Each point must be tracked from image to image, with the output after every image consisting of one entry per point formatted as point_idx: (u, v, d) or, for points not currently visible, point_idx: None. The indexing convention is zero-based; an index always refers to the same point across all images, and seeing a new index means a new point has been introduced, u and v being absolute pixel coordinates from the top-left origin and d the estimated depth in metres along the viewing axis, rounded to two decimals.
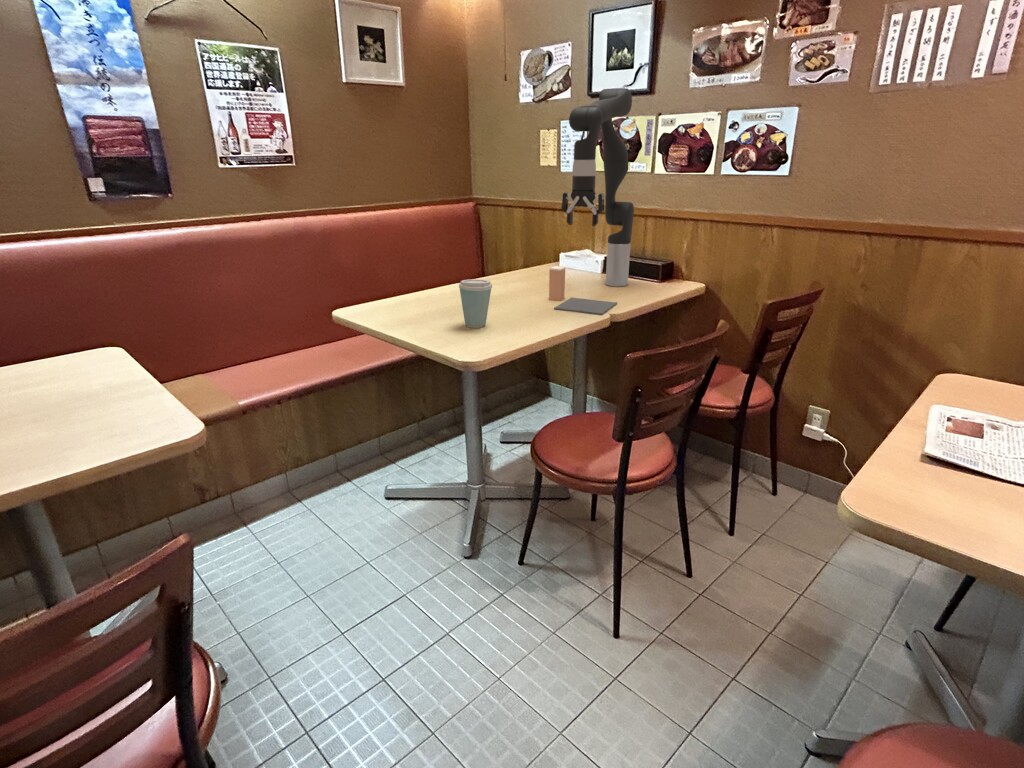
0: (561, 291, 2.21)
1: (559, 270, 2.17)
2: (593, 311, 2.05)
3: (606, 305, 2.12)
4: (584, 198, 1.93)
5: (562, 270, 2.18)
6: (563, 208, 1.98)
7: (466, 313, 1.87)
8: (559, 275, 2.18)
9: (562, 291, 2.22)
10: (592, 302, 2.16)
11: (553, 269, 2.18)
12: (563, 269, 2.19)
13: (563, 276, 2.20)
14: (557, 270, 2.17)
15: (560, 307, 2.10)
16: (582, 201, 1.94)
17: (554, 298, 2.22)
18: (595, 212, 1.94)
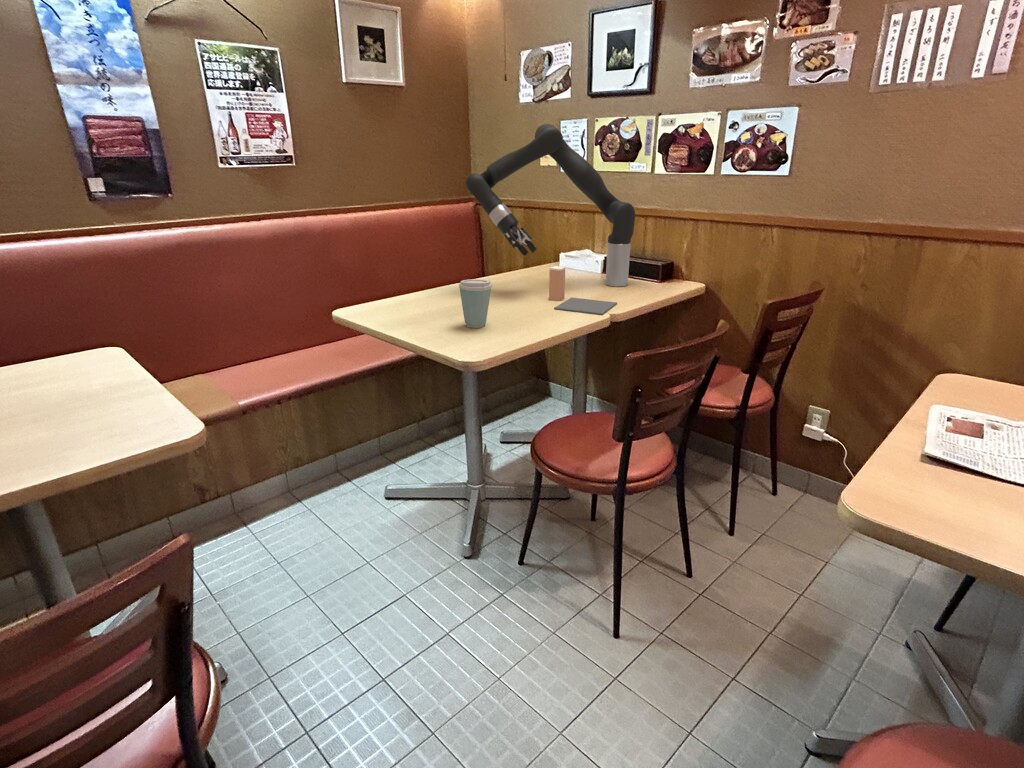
0: (561, 291, 2.21)
1: (559, 270, 2.17)
2: (593, 311, 2.05)
3: (606, 305, 2.12)
4: None
5: (562, 270, 2.18)
6: None
7: (466, 313, 1.87)
8: (559, 275, 2.18)
9: (562, 291, 2.22)
10: (592, 302, 2.16)
11: (553, 269, 2.18)
12: (563, 269, 2.19)
13: (563, 276, 2.20)
14: (557, 270, 2.17)
15: (560, 307, 2.10)
16: None
17: (554, 298, 2.22)
18: None
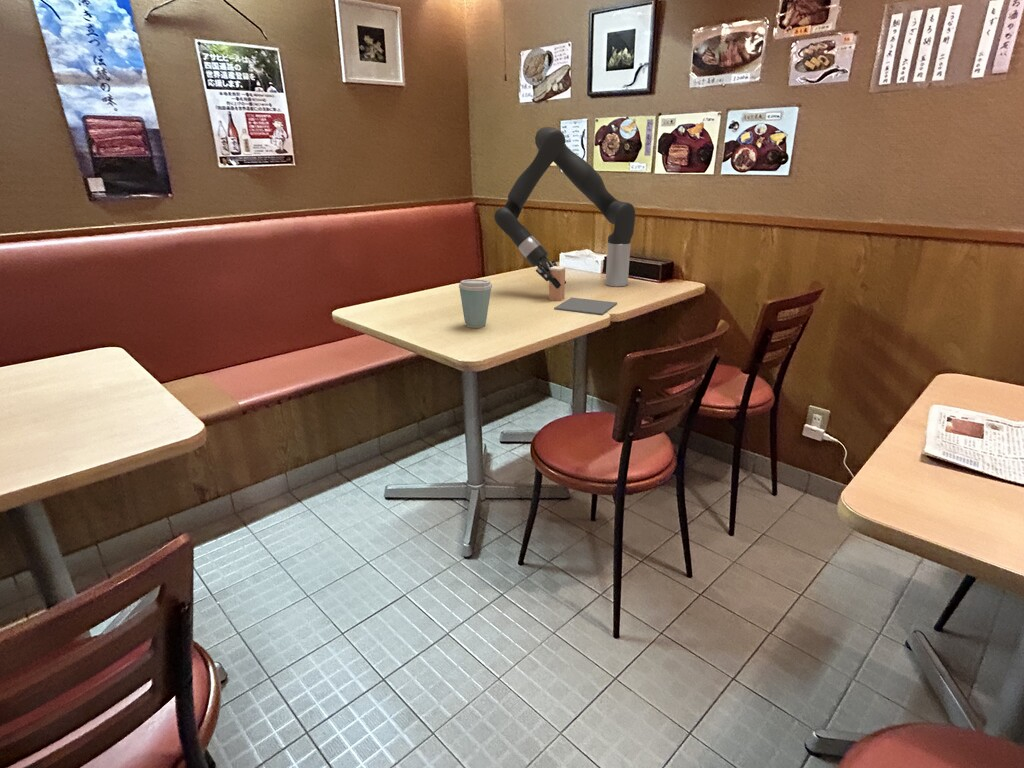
0: (561, 291, 2.21)
1: (559, 270, 2.17)
2: (593, 311, 2.05)
3: (606, 305, 2.12)
4: None
5: (562, 270, 2.18)
6: None
7: (466, 313, 1.87)
8: (559, 275, 2.18)
9: (562, 291, 2.22)
10: (592, 302, 2.16)
11: (553, 269, 2.18)
12: (563, 269, 2.19)
13: (563, 276, 2.20)
14: (557, 270, 2.17)
15: (560, 307, 2.10)
16: None
17: (554, 298, 2.22)
18: None
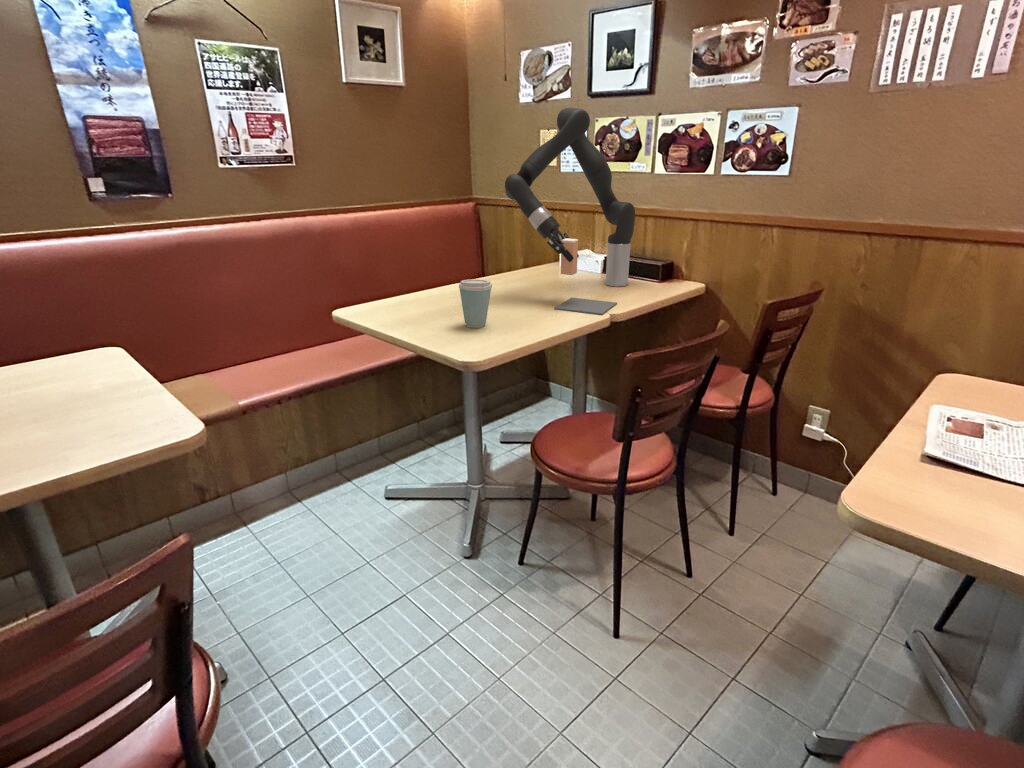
0: (574, 265, 2.09)
1: (572, 242, 2.05)
2: (593, 311, 2.05)
3: (606, 305, 2.12)
4: None
5: (575, 242, 2.06)
6: None
7: (466, 313, 1.87)
8: (572, 247, 2.06)
9: (574, 265, 2.10)
10: (592, 302, 2.16)
11: (565, 241, 2.06)
12: (576, 241, 2.07)
13: (576, 249, 2.08)
14: (569, 242, 2.05)
15: (560, 307, 2.10)
16: None
17: (566, 272, 2.10)
18: None
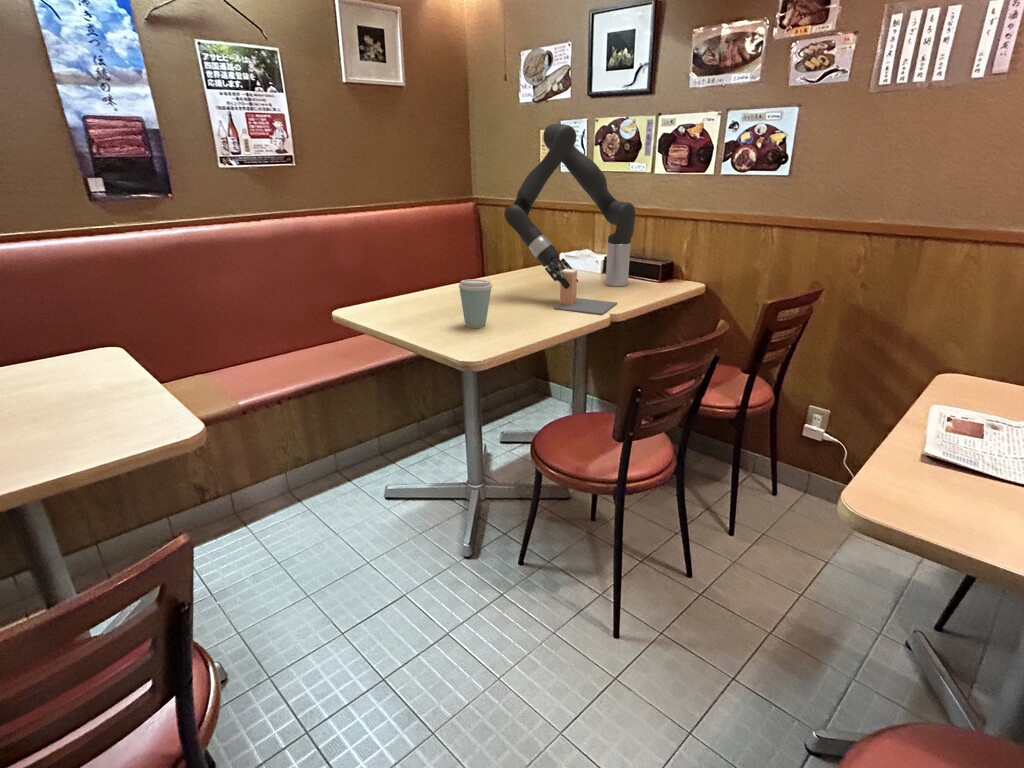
0: (573, 295, 2.13)
1: (571, 273, 2.09)
2: (593, 311, 2.05)
3: (606, 305, 2.12)
4: None
5: (574, 273, 2.10)
6: None
7: (466, 313, 1.87)
8: (571, 278, 2.10)
9: (574, 295, 2.14)
10: (592, 302, 2.16)
11: (564, 272, 2.10)
12: (575, 272, 2.11)
13: (575, 279, 2.12)
14: (569, 273, 2.09)
15: (560, 307, 2.10)
16: None
17: (565, 302, 2.14)
18: None
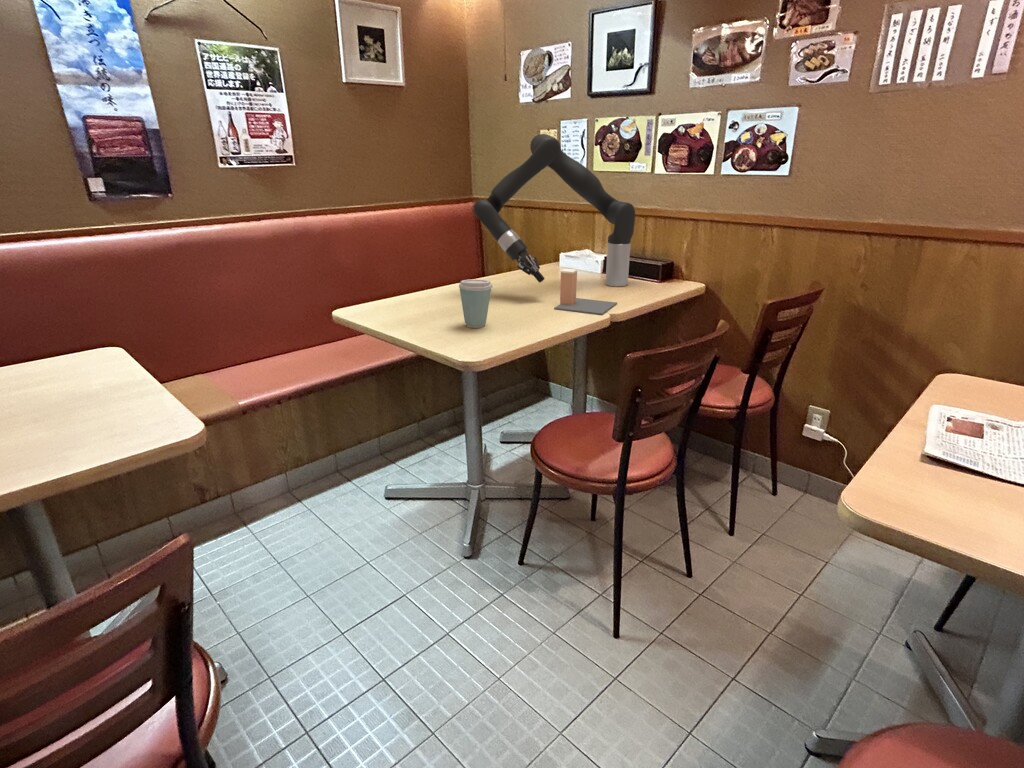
0: (573, 295, 2.13)
1: (571, 273, 2.09)
2: (593, 311, 2.05)
3: (606, 305, 2.12)
4: None
5: (574, 273, 2.10)
6: None
7: (466, 313, 1.87)
8: (571, 278, 2.10)
9: (574, 295, 2.14)
10: (592, 302, 2.16)
11: (564, 272, 2.10)
12: (575, 272, 2.11)
13: (575, 279, 2.12)
14: (569, 273, 2.09)
15: (560, 307, 2.10)
16: None
17: (565, 302, 2.14)
18: None
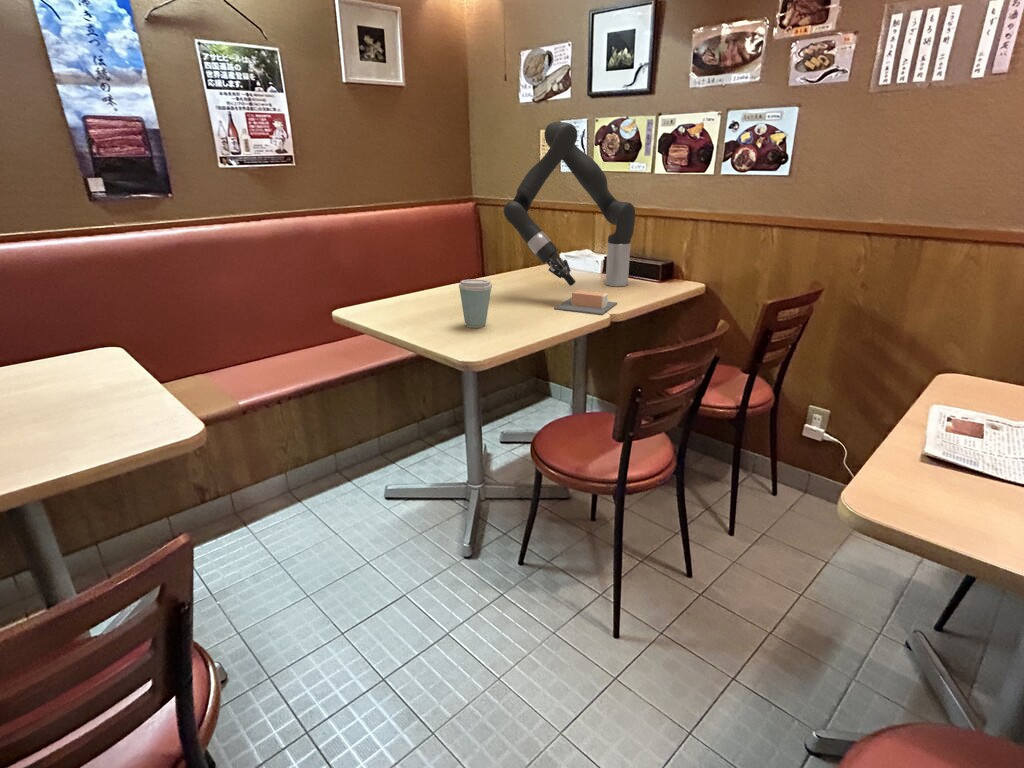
0: None
1: (601, 307, 2.08)
2: (593, 311, 2.05)
3: None
4: None
5: None
6: None
7: (466, 313, 1.87)
8: (596, 306, 2.09)
9: None
10: None
11: (602, 300, 2.07)
12: None
13: None
14: (601, 305, 2.08)
15: (560, 307, 2.10)
16: None
17: (573, 299, 2.12)
18: None
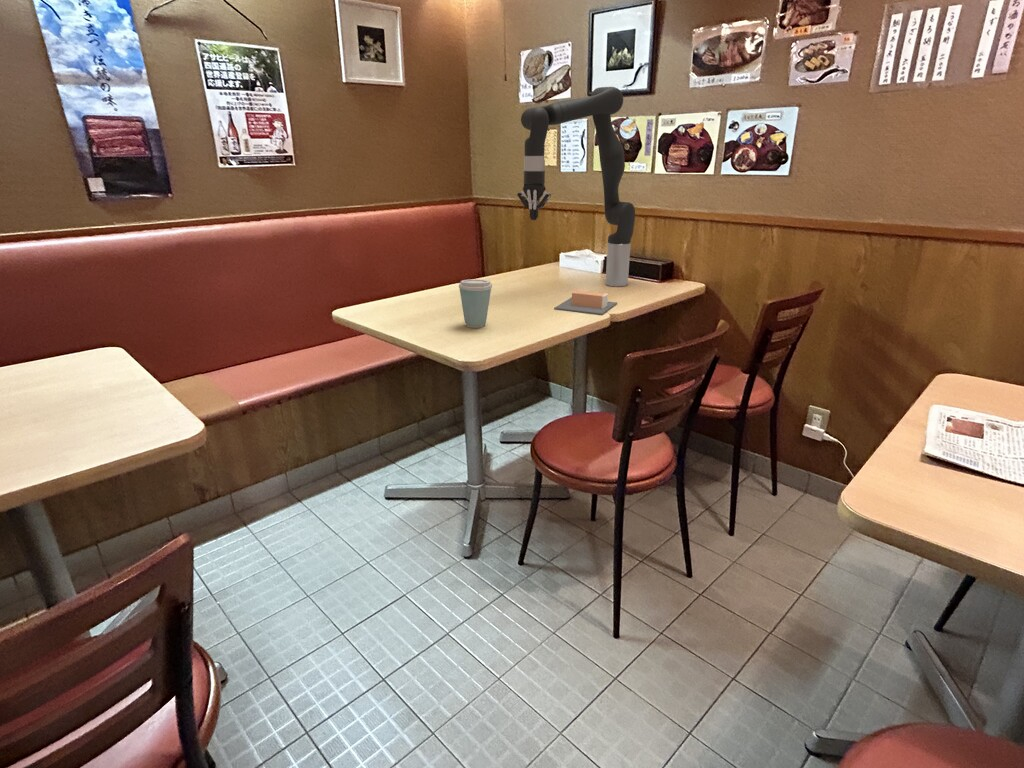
0: None
1: (601, 307, 2.08)
2: (593, 311, 2.05)
3: None
4: (534, 191, 2.09)
5: None
6: (525, 204, 2.13)
7: (466, 313, 1.87)
8: (596, 306, 2.09)
9: None
10: None
11: (602, 300, 2.07)
12: None
13: None
14: (601, 305, 2.08)
15: (560, 307, 2.10)
16: (533, 194, 2.11)
17: (573, 299, 2.12)
18: (535, 207, 2.12)
